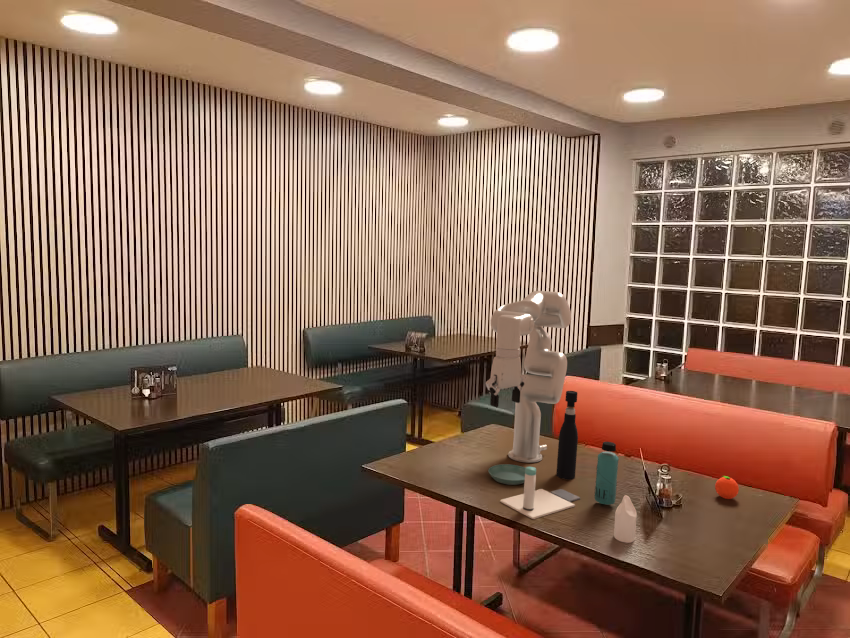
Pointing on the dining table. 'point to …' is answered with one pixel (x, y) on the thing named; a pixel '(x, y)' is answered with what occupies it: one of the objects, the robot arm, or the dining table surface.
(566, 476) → the black bottle
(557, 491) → the plate
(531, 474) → the marker
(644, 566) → the dining table surface
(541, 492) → the pad
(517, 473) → the saucer
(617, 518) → the white tapered cylinder
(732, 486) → the clementine
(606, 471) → the beverage bottle
